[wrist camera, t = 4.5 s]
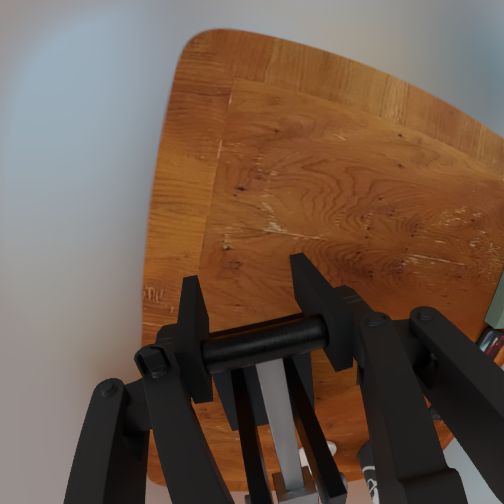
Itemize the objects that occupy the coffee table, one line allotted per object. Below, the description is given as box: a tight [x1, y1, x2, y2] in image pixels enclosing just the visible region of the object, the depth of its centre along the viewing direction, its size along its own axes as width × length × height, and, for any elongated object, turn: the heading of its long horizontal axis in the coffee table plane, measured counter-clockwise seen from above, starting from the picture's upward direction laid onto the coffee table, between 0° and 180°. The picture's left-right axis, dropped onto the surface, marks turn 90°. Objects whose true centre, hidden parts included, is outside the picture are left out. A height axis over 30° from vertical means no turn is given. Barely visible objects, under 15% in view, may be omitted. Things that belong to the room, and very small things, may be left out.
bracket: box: [209, 313, 348, 504], centre depth 19 cm, size 11×8×14 cm
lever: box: [200, 314, 329, 504], centre depth 13 cm, size 13×5×2 cm, turn 10°
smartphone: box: [429, 327, 504, 420], centre depth 31 cm, size 7×1×15 cm
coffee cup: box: [357, 441, 379, 504], centre depth 26 cm, size 10×10×15 cm
